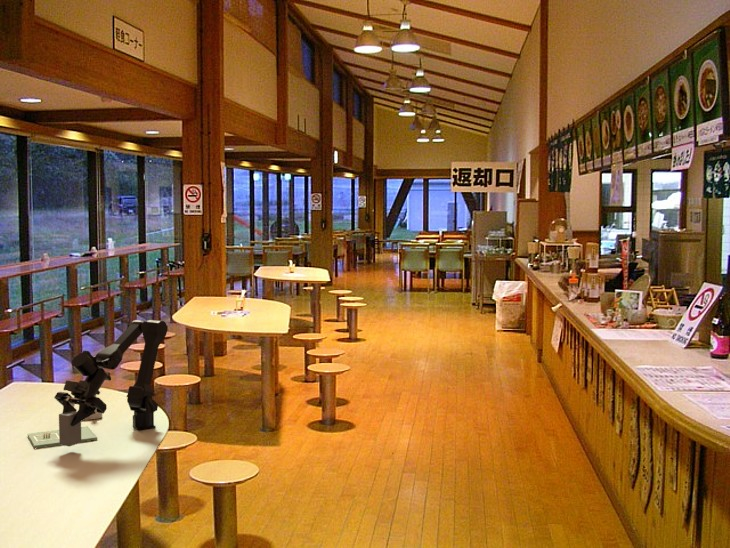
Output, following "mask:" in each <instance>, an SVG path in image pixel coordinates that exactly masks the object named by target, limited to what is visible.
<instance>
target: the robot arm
mask: <svg viewBox="0 0 730 548" xmlns="http://www.w3.org/2000/svg"><path fill="white" fill-rule="evenodd" d="M168 327H169V326H168V325H167V322H165V321H164V320H155V319H148V320H141V319H140V320H139V319H134V320H132V322H131V323H130V325H129V326H128V327H127V328H126V329H125V330H124V331H123V333H121V334H120V336H118V338H116V340H115V341H114V342H113V343H112V344H110V345H109V346H106V347H104V348H102V349H101V350H100V351H99V352H97V353H96V354H95V355H92V354H91V352H90V351H89V350H86V349H85V350H83V351H82V352H81V353H78V354H77V355H75V357H73V359H72V360H71V366H72V367H73V368H74V369H75V370H76V371H77V372H78V373H79V374H80V375H82V377H84V378H85V379H84V380H79V381H72V380H65V383H64V385H63V386H64V387H63V391H58V392H57V393H56V394H55V396H54V399H55V400H56V401H57V402H58V403H59V404H60V405H62V408H63V409H62V413H65V412H68V411H75V412H76V411H78V412H77V413H76V415H75V417H74V419H73V421H72V423H71V425H72V426H75V425H76V424H78V423H79V422H81V423H82V421H85V420H84V419H85V418H87V417H89V416H91V415H92V414H95V412H94V411H95V410H96V408H97V412H98V413H102V415H103V414H104V413H105V412H106V410H107V404H106V403H105V402H104V401H103V399H101V398H100V397H97V396H99V395H100V394H101V391H100V389H101V388H102V386H103V384H104V382H105V381H111V380H112V377H111V373H110V372H109V371H110V370H116V369H117V368H118V367H119V365H120V363H121V362H122V360H123V358H124V357H123V356H124V354H125V352H126V351H128V349H129V348H130V347H131V346H132V344H134V343H135V342H136V341H137V340H138V338H139V337H140V336H141V335H142V337H143V341H144V346H143V351H142V355H141V360H140V364H139V369H138V373H137V377H136V382H135V383H134V384H133V385H129V387H128V392H127V394H126V398H127V400H126V401H127V403H128V404H127V405H128V407H129V409H130V411H133V415H132V427H133V429H136V430H137V431H143V430H150V429H155V428H156V425H155V419H154V418H155V415H154V414H155V412H156V411H158V407H159V404H158V403H157V402H156V401H155V400H154V399H153V397H154V395H153V394H154V393H153V389H152V385H151V383H152V377H153V374H154V369H155V364H156V361H157V357H158V351H159V346H160V345H161V344H162V343H163V341H165V339H166V336H167V332H168V330H169V328H168ZM106 370H109V371H108V372H107V371H106ZM65 391H67V392H65ZM69 392H70V394H69ZM95 395H96V397H95ZM75 405H78V410H77V409H76V407H75Z"/></svg>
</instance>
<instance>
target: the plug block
mask: <svg viewBox="0 0 730 548" xmlns="http://www.w3.org/2000/svg"><path fill="white" fill-rule="evenodd" d="M76 413H77V412H75V411H68V412H65V413H63V412H61V413H59V414H58V430H59V440H60V445H59V446H64V447H71V446H75V445H78V444H81V443H82V442H81V427H82V421H81V422H79V423H78V424H76V425H75V426H72V425H71V423H72V421H73V419H74V417H75V415H76Z"/></svg>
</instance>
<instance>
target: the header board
mask: <svg viewBox="0 0 730 548" xmlns="http://www.w3.org/2000/svg"><path fill="white" fill-rule="evenodd" d="M27 439H28V440H29V442H30V441H31V442H30V443H31V445H32V446H34V447H33V448H34V449H35V448H36V449H42V448H43V449H44V448H50V446H51V447H57V446H61V445H60V440H59V429H56V430H55V429H54V430H47V431H40V432H31V433H27ZM91 440H94V441H98V436H97V435H96V434H95V433H94V431H92V429H91V428H90V427H89V426H88V425H87V426H86V425H85V426H81V443H86V442H85V441H87V442H92V441H91Z"/></svg>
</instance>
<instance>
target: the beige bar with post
mask: <svg viewBox="0 0 730 548" xmlns="http://www.w3.org/2000/svg"><path fill="white" fill-rule="evenodd" d="M95 397H97V394H96V395H95ZM76 412H78V410H77V411H76ZM94 412H95V414H92V415H91V416H89V417H87V418H85V419H84V420H83V421H88V420H90V421H91V420H99V419H101V418H103V413H98V412H97V408H96V410H95V411H94Z"/></svg>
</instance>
